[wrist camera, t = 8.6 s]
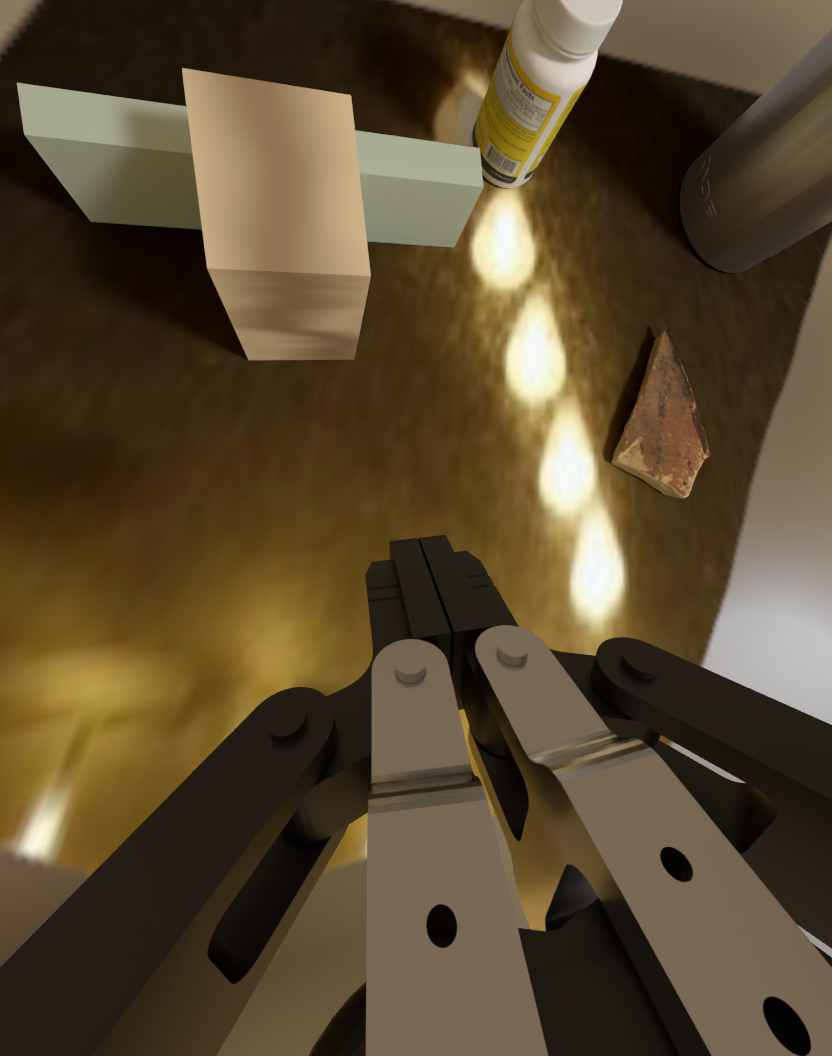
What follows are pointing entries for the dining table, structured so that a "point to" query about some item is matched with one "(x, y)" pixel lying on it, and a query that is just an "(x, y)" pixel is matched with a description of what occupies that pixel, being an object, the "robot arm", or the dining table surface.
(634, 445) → the shard
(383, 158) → the sage fence board
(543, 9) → the supplement bottle
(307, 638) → the dining table surface
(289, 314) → the birch block
